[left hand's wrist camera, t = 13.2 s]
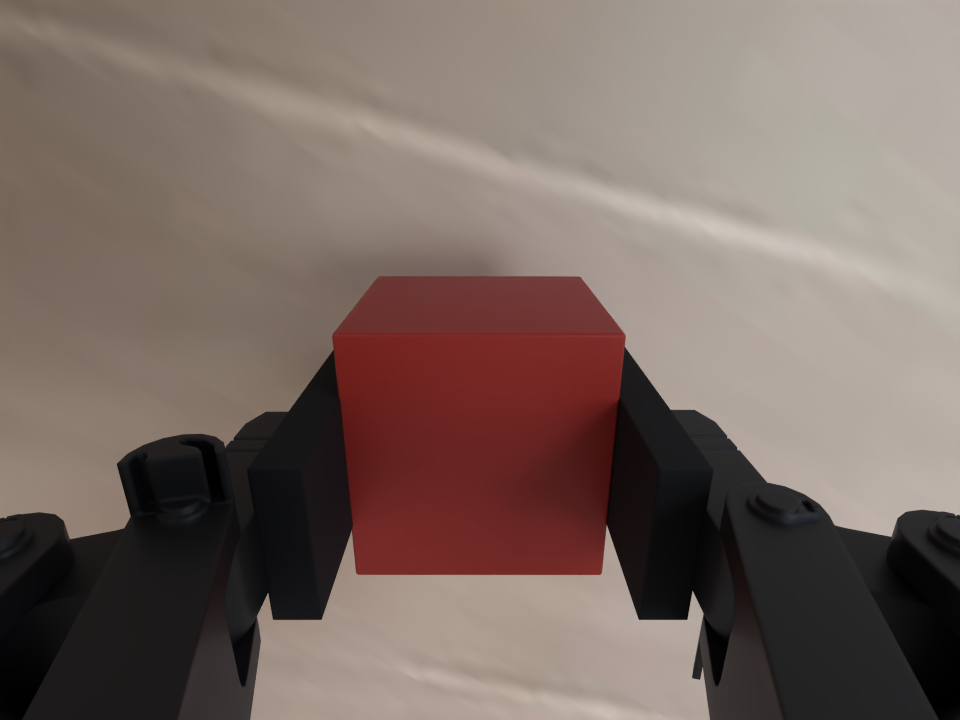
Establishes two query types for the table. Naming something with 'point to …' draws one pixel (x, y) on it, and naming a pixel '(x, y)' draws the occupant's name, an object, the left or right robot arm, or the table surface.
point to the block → (479, 425)
